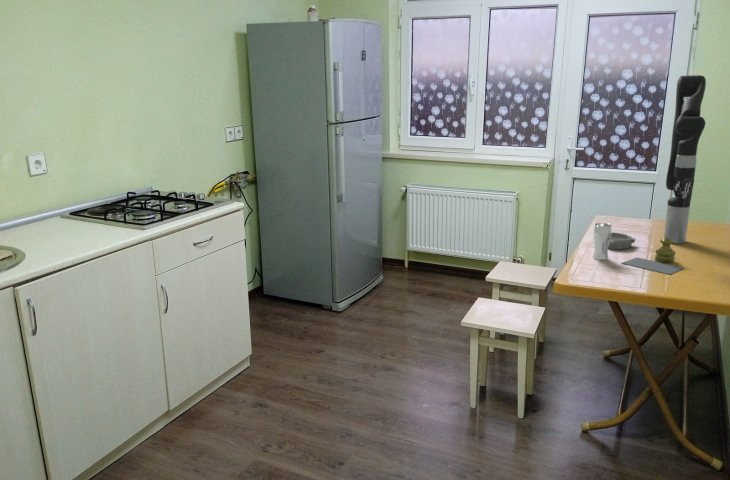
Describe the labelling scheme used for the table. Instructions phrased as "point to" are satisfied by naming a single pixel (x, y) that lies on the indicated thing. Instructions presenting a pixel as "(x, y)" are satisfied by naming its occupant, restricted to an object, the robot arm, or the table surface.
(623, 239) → the dish
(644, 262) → the mat
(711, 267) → the table surface
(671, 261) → the brass door knob
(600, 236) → the beer glass
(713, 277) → the table surface
